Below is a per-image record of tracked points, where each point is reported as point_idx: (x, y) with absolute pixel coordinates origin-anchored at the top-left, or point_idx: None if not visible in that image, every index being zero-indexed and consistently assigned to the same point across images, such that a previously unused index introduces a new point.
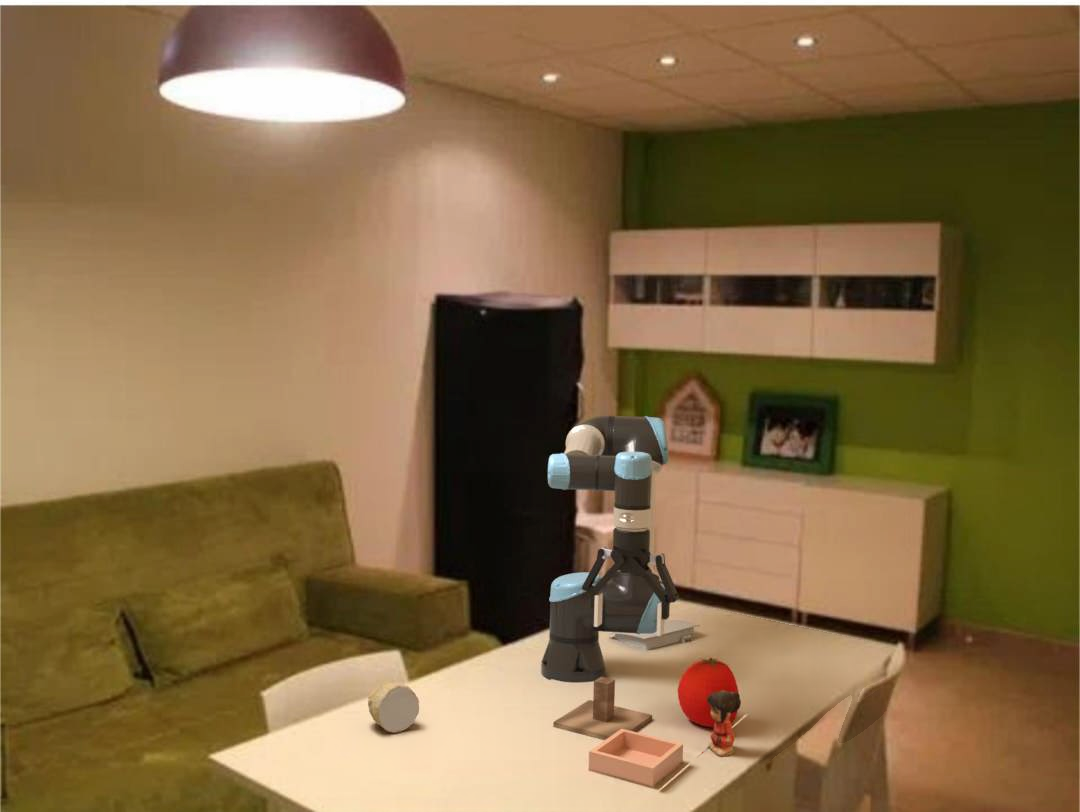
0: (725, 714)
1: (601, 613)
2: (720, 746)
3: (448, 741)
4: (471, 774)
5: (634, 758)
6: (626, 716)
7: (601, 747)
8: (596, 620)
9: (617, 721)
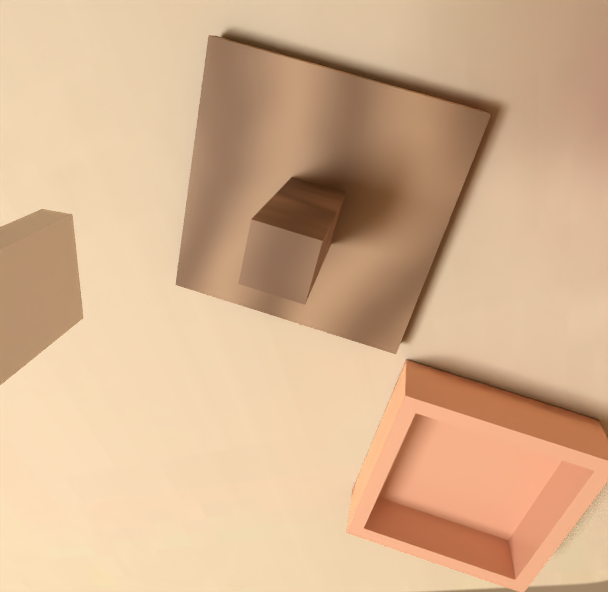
0: None
1: (2, 268)
2: None
3: (10, 403)
4: (136, 522)
5: (456, 438)
6: (389, 167)
7: (371, 510)
8: (40, 345)
9: (365, 224)
